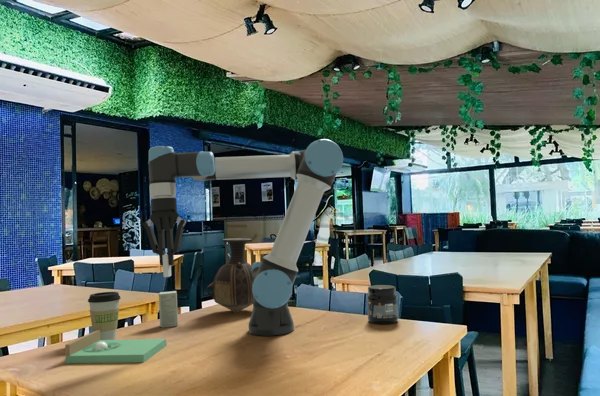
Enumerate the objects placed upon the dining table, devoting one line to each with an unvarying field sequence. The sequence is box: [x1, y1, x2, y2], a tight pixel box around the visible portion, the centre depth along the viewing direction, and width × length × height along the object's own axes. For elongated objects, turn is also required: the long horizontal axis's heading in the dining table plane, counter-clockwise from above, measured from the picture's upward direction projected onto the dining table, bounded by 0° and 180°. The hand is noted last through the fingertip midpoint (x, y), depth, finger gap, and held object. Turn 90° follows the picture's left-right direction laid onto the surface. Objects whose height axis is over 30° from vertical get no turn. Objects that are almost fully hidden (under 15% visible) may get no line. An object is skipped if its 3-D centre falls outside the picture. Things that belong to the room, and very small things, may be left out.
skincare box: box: [158, 290, 179, 328], centre depth 163 cm, size 6×4×12 cm
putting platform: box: [64, 330, 167, 364], centre depth 129 cm, size 22×16×5 cm
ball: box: [94, 342, 108, 350], centre depth 129 cm, size 4×4×4 cm
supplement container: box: [366, 284, 399, 325], centre depth 157 cm, size 10×10×12 cm
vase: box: [206, 237, 253, 314], centre depth 183 cm, size 23×19×30 cm
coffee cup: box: [87, 291, 122, 340], centre depth 145 cm, size 10×10×15 cm
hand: (167, 276), depth 134 cm, fingers closed
